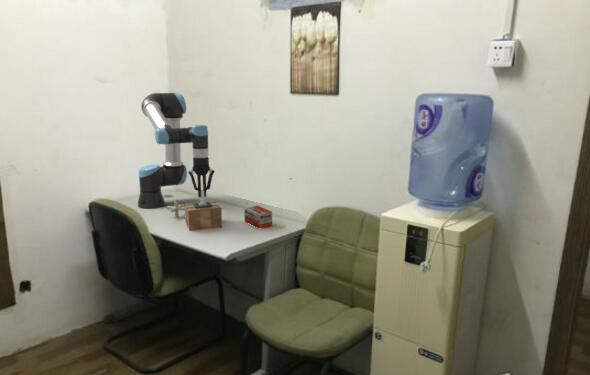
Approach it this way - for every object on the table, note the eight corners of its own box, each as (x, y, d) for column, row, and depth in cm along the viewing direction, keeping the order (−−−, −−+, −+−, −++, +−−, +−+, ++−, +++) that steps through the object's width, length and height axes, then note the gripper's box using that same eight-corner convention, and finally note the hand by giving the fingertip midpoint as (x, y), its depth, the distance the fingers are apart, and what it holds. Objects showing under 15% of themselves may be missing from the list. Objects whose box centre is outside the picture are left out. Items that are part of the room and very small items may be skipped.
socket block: (185, 222, 234) (184, 203, 231) (216, 219, 239) (215, 201, 237) (189, 230, 221) (188, 210, 219) (221, 227, 226) (221, 208, 224)
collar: (193, 204, 230) (193, 203, 230) (209, 203, 233) (209, 201, 233) (195, 208, 223) (195, 207, 222) (212, 207, 225) (212, 205, 225)
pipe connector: (181, 220, 237) (180, 202, 235) (163, 219, 239) (162, 201, 236) (189, 215, 246) (188, 197, 244) (172, 214, 248) (171, 196, 246)
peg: (198, 218, 230) (197, 203, 229) (206, 217, 232) (205, 202, 230) (199, 220, 227) (199, 205, 225) (207, 219, 228) (207, 204, 226)
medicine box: (244, 222, 236) (244, 207, 234) (257, 219, 240) (257, 205, 239) (259, 229, 224) (259, 214, 222) (273, 226, 228) (273, 211, 227)
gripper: (188, 158, 216) (190, 206, 222) (215, 157, 221) (217, 204, 226) (186, 156, 223) (188, 202, 229) (212, 155, 228) (214, 200, 233)
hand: (202, 203), depth 227 cm, fingers closed
